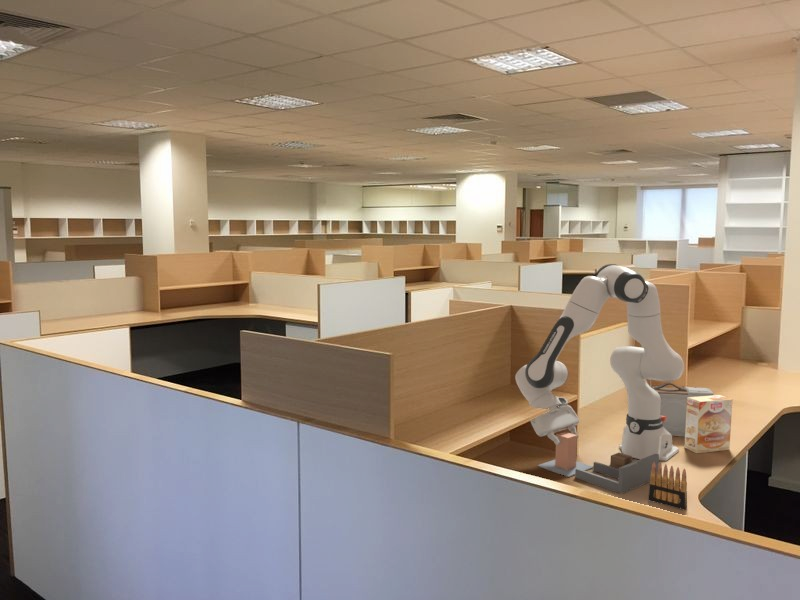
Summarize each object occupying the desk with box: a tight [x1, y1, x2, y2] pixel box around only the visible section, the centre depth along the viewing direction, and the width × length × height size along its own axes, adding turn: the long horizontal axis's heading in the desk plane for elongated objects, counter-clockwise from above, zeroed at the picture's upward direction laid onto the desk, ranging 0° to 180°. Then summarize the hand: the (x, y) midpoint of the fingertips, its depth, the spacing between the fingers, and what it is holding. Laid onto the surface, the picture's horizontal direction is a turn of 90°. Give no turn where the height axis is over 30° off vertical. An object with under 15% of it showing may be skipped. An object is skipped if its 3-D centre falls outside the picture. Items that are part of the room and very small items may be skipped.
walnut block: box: [609, 452, 633, 469], centre depth 221 cm, size 5×5×6 cm
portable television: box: [649, 379, 714, 437], centre depth 265 cm, size 12×24×30 cm, turn 78°
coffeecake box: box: [684, 394, 733, 454], centre depth 245 cm, size 15×7×20 cm, turn 106°
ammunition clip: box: [647, 462, 688, 511], centre depth 196 cm, size 11×2×12 cm, turn 49°
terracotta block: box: [554, 431, 578, 470], centre depth 226 cm, size 5×5×11 cm
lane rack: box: [574, 454, 660, 495], centre depth 216 cm, size 21×17×8 cm
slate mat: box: [537, 459, 594, 478], centre depth 227 cm, size 14×13×1 cm
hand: (567, 441), depth 225 cm, fingers open, 8 cm apart
